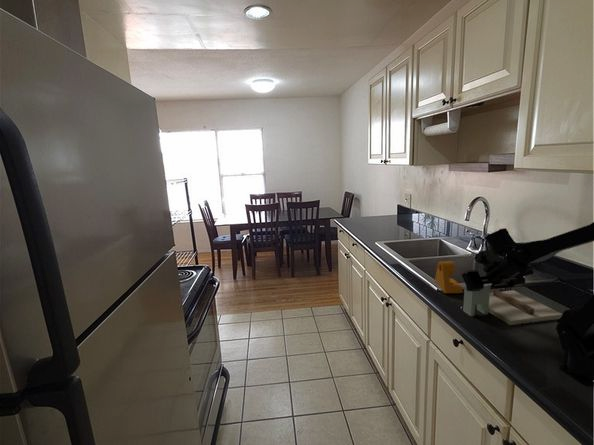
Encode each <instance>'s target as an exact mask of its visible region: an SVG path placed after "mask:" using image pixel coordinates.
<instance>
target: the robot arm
mask: <svg viewBox="0 0 594 445" xmlns="http://www.w3.org/2000/svg"><path fill="white" fill-rule="evenodd" d="M484 240H485V242H486V243H487V245H488V246H489V248H490V249H488V250H481V251H478V252H477V253H476V254H475V255H474V260H475V262H476V263H477V264H482V265H483V268H482V270H483V271H484V273H485V276H484V275H483V276H481V275H480V273H479V271H478V270H476V269H471V270H470V269H469V270H464V271H463V272H462V273H461V277H462V279H463V281H464V285H465V284H466V290H467V291H480V290H482V289H483V288H484V284H489V285H490V289H491V290H492V289H493V290H495V289H506V288H516V287H521V286H523V285H525V284H526V278H525V277H526V276H530V275H534V269H533V266H532V265H530V264H533V263H534V264H535V263H540V262H544V261H547V260H549V259H550V258H552V257H555V256H556V255H557V254H559V253H561V252H564V251H566V250H569V249H573V248H577V247H580V246H582V245H586V244H590V243H593V242H594V221H592V222H591V223H589V224H587V225H584V226H580V227H578V228H576V229H573V230H569V231H566V232H563V233H561V234H558V235H555V236H554V235H553V236H552V237H548V238H546V239H540V240H532V241H527V242H526V241H525V242H522V241H521V242H516V241H515V240H514V239H513V237H512V236H511V234H510V233H509V230H508V229H507V228H506V227H505V228H504V227H503V228H499V229H497V230H496V231H494V232H492V233H490V234H487V235H486V236H485V237H484ZM501 257H503V258H501ZM561 314H562V316H561V318H560V319H555V322H556V323H557V324H556V326H555V331H557V332H556V333H557V334H558V338H559V342H560V346H561V349H562V351H564V354H563V360H562V361H563V362H562V363H563V364H559V365H558V369H560V370H561V371H563V372H564V373H566V374H567V375H569V376H571V377H572V378H573V379H575V380H577V381H578V382H580V383H581V384H583V385H586V384H591V383H590V382H592V381H593V380H594V293H593V294H592V295H591V296H590V298H589V299H588V300H587V301H586V302H585V303H584V304H583V306H578V307H574V308H570V309H565V310H564V312H563V313H561Z"/></svg>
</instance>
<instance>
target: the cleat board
mask: <svg viewBox="0 0 594 445" xmlns="http://www.w3.org/2000/svg"><path fill="white" fill-rule="evenodd" d="M488 313H490V314H492V315H493V316H495V317H496V318H497V319H499V320H501V321H503V322H504V323H505V324H507V325H509V326H513V325H515V326H516V325H522V324H521V323H523V324H529V323H530V322H531V323H536V322H537V323H538V322H546V321H553V320H559V319H560V318H561V316H562V314H563V313H561V312H559V311H557V310H554V309H552V308H550V307H549V306H547V305H545V304H543V303H541V302H538V301H536V300H534V299H532V298H531V297H528V296H526V295H524V294H522V293H519V292H518V291H516V290H514V289H513V290H505V291H501V290H499V289H493V292H490V297H489V310H488Z"/></svg>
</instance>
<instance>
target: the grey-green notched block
mask: <svg viewBox="0 0 594 445" xmlns="http://www.w3.org/2000/svg"><path fill="white" fill-rule="evenodd" d="M463 293H464V294H463V309H462V310H463V311H462V312H464V313H466V314H467V315H468V316H470V317H475V312H476V311H475V309H476V310H477V311H479V312H480V313H482V314H483V315H489V312H488V310H489V297H490V293H491V284H484V288H483V289H482V290H480V291H467V290H466V284H465V283H464V288H463Z"/></svg>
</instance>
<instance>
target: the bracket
mask: <svg viewBox="0 0 594 445" xmlns="http://www.w3.org/2000/svg"><path fill="white" fill-rule="evenodd" d="M455 272H456V266H455V263H454V261H453V260H445V261H443V260H441V261H438V264H437V268H436V274H435V278H434V283H435V282H436V283H437V284H438V285H439V286H440V287H441V288H442V291H443V292H442V293H444V294H463V293H464V288H463V286H462V285H461V284H460V283H459V282H458V281H456V279H454V278H451V277H450V276H451V275H453V276H454V275H455ZM436 283H435V284H436Z"/></svg>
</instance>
